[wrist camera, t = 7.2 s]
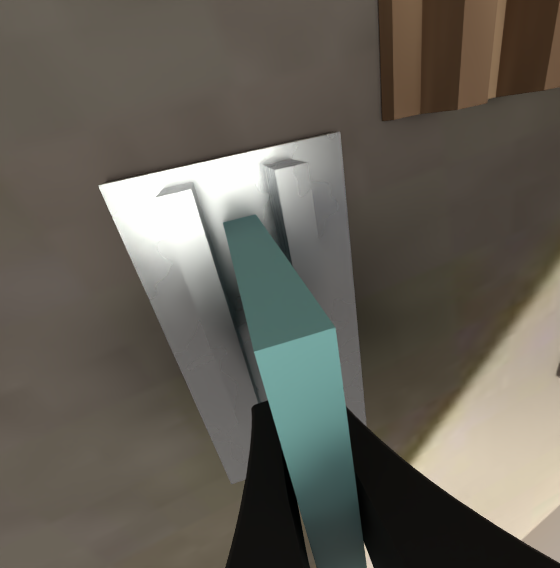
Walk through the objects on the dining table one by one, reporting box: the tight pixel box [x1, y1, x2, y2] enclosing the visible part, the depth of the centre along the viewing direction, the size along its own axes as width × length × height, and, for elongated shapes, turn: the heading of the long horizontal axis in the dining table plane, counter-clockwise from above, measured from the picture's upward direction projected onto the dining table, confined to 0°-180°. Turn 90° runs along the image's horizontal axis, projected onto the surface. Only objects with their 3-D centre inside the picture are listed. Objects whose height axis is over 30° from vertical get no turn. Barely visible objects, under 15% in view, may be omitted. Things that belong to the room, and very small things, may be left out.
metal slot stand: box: [99, 132, 367, 484], centre depth 13 cm, size 8×16×3 cm, turn 11°
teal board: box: [223, 214, 367, 568], centre depth 10 cm, size 1×12×8 cm, turn 11°
